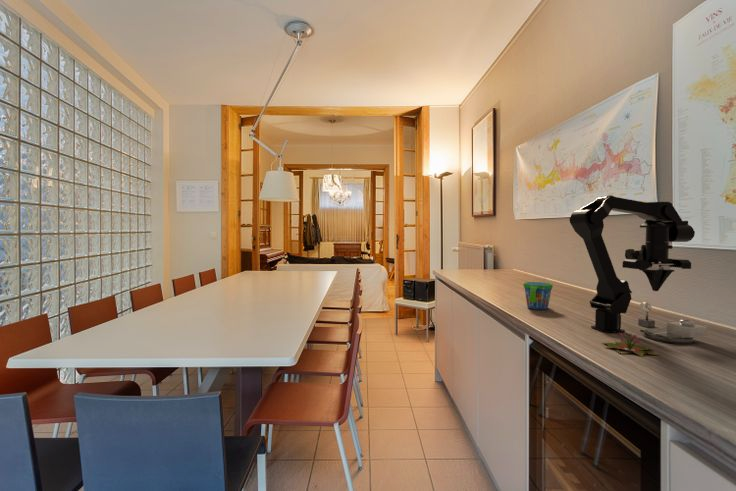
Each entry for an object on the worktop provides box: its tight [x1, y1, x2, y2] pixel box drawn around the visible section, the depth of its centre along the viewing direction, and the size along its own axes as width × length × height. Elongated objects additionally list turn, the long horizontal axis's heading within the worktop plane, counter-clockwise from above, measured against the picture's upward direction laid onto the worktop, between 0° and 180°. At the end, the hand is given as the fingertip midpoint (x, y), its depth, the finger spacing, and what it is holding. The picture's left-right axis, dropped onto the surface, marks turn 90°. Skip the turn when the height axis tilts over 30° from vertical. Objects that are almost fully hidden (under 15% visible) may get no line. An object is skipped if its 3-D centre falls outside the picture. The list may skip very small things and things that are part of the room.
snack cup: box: [523, 281, 554, 311], centre depth 139 cm, size 16×10×10 cm
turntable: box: [639, 326, 695, 345], centre depth 100 cm, size 11×11×2 cm
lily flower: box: [603, 331, 660, 358], centre depth 90 cm, size 12×12×5 cm
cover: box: [666, 318, 708, 338], centre depth 98 cm, size 6×6×4 cm
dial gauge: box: [637, 301, 656, 328], centre depth 113 cm, size 3×3×8 cm
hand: (655, 290), depth 110 cm, fingers closed
